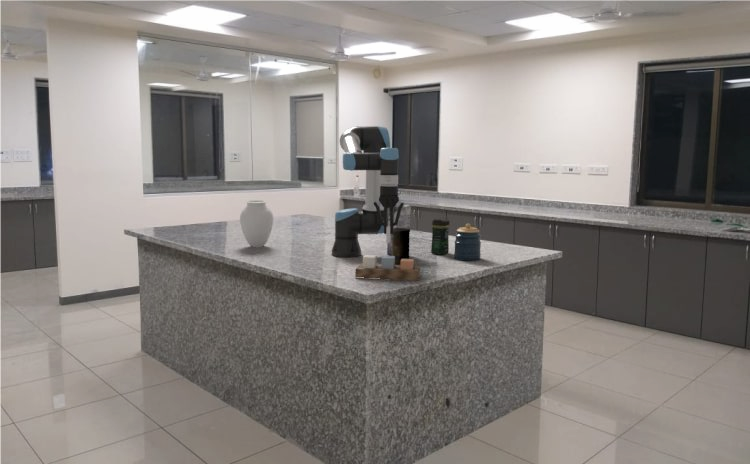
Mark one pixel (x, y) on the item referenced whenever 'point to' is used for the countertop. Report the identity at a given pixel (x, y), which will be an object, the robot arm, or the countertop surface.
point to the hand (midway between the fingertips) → (388, 241)
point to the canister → (467, 244)
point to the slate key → (388, 262)
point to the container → (400, 244)
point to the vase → (256, 223)
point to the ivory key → (369, 261)
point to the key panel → (388, 273)
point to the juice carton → (399, 222)
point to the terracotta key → (407, 264)
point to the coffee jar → (440, 236)
